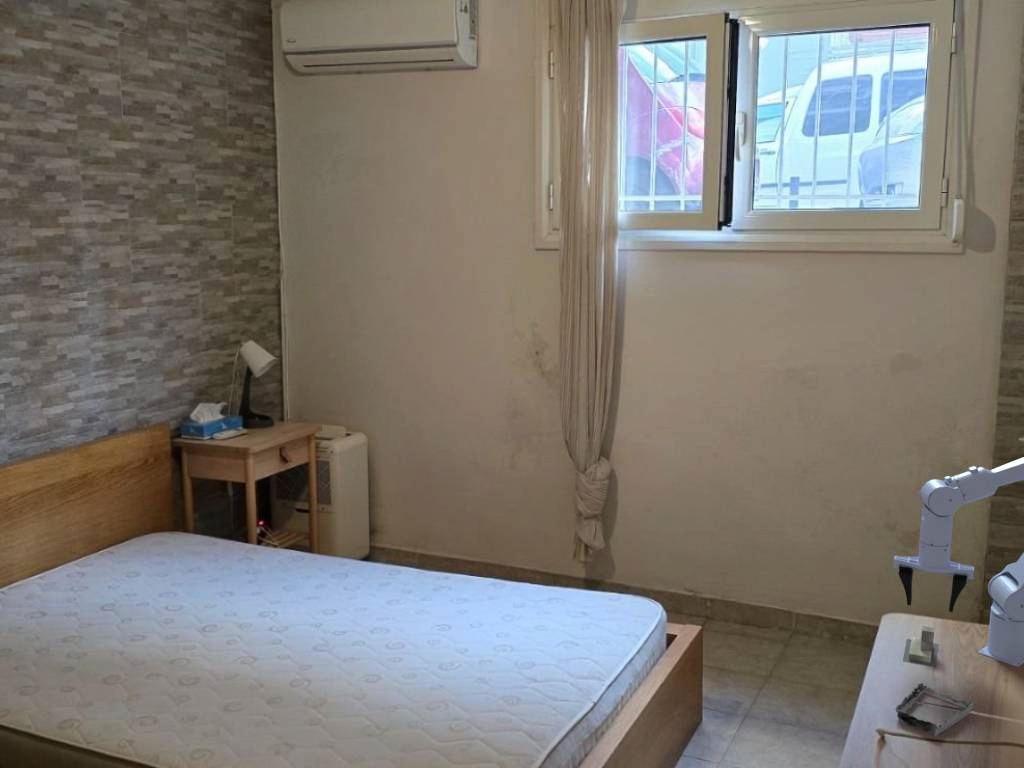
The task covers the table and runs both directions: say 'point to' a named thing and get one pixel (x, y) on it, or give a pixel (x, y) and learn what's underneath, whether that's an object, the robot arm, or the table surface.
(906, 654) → the rest mat
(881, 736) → the table surface
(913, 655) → the scraper
